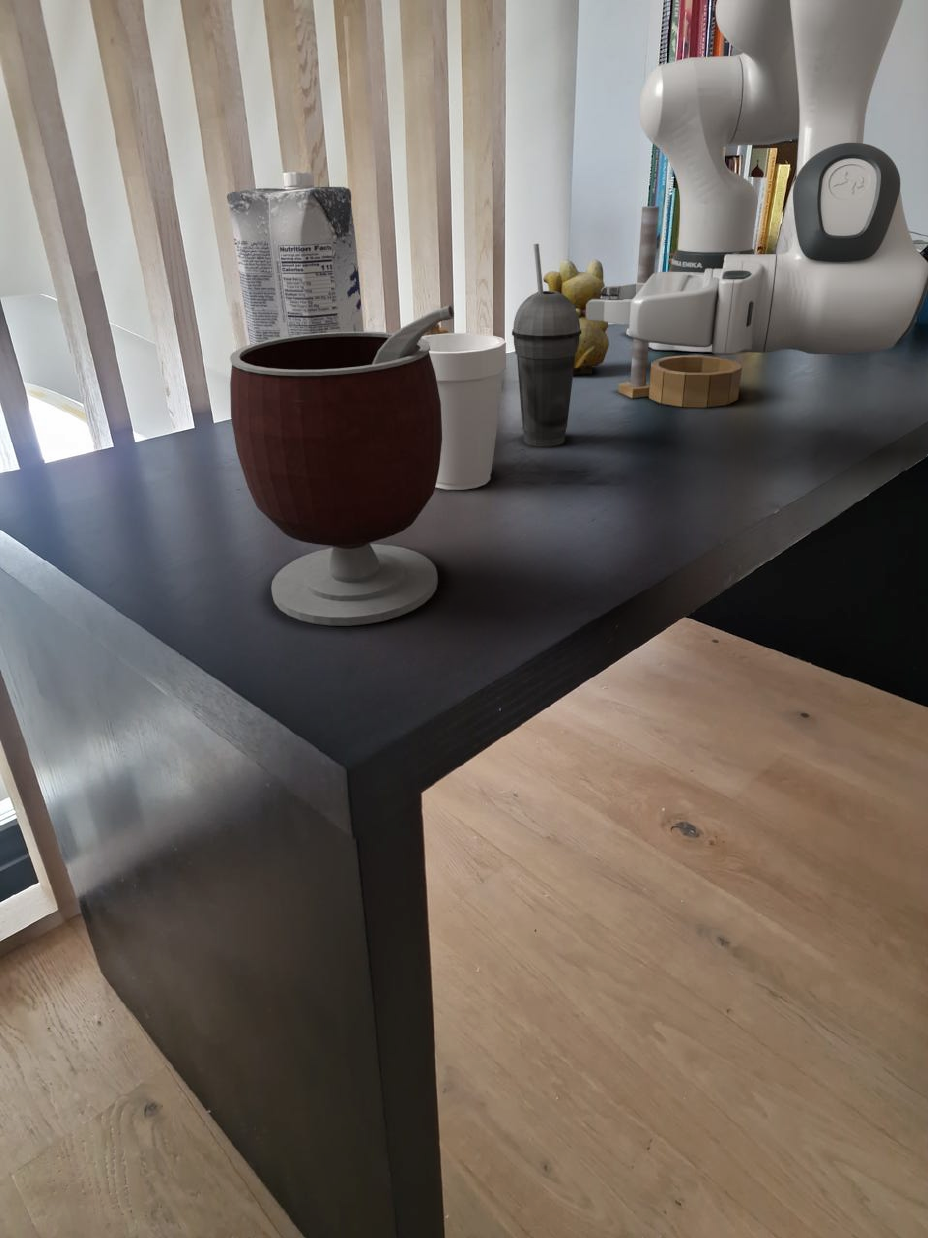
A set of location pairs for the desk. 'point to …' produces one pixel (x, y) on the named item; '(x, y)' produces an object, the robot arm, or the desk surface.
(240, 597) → the desk surface
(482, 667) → the desk surface
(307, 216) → the juice carton
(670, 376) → the holder
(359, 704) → the desk surface
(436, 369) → the foam cup
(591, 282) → the decorative figurine
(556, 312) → the beverage cup
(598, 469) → the desk surface
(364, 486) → the mate gourd
